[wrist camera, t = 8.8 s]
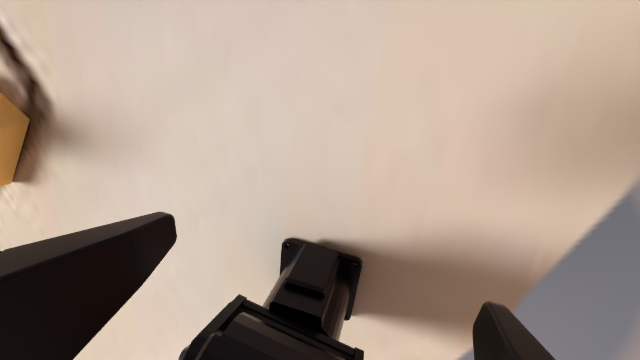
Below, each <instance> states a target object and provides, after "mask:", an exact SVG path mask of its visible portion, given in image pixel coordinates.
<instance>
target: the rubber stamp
mask: <svg viewBox="0 0 640 360" xmlns="http://www.w3.org/2000/svg"><path fill="white" fill-rule="evenodd" d="M29 121H30V120H29V118H28V117H27V116H26V115H24V114H23V113H22V112H21V111H20V110H19V109H18V108H17V107H16V106H15V105H14V104H13V103H11V102H10V101H9V100H8V99H7V98H6V97H5V96H4V95H3V94H2V93H1V92H0V186H3V185H6V184H9V183H11V182H12V180H13V176H14V173H15V169H16V166H17V162H18V159H19V155H20V152H21V148H22V145H23V142H24V138H25V135H26V131H27V128H28V124H29Z"/></svg>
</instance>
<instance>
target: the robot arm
mask: <svg viewBox="0 0 640 360" xmlns="http://www.w3.org/2000/svg"><path fill="white" fill-rule="evenodd" d="M176 238H177V234H176V226H175V219H174V217H173V215H171V214H168V213H164V212H156V213H152V214H148V215H144V216H140V217H136V218H132V219H127V220H123V221H119V222H115V223H111V224H107V225H103V226H99V227H95V228H91V229H87V230H83V231H79V232H75V233H71V234H67V235H62V236H58V237H54V238H50V239H46V240H42V241H38V242H34V243H30V244H26V245H22V246H18V247H14V248H10V249H6V250H4V251H0V360H73V359H74V358H75V357H76V356H77V355H78V354H79V352H80V351H81V350H82V349H83V348H84V347H85V346H86V345H87V344H88V343H89V342H90V341H91V340H92V338H93V337H94V336H95V335H96V334H97V333H98V332H99V331H100V330H101V329H102V328H103V327H104V326H105V325H106V323H107V322H108V321H109V320H110V319H111V318H112V317H113V316H114V315H115V314H116V313H117V312H118V311H119V310H120V308H121V307H122V306H123V305H124V304H125V303H126V302H127V301H128V300H129V299H130V298H131V297H132V296H133V294H134V293H135V292H136V291H137V290H138V289H139V288H140V287H141V286H142V285H143V283H144V282H145V281H146V280H147V278H148V277H149V276H150V275H151V273H152V272H153V271H154V269H155V268H156V267H157V266H158V264H159V263H160V262H161V260H162V259H163V258H164V257H165V255H166V254H167V253H168V251H169V250H170V249H171V248H172V246H173V245H174V244H175V242H176ZM287 244H289V245H290V246H288V245H287ZM353 263H357V264H358V265H355V264H353ZM361 268H362V260H361V259H360V258H358V257H354V256H351V255H347V254H343V253H340V252H336V251H333V250H329V249H325V248H322V247H318V246H314V245H311V244H307V243H303V242H300V241H296V240H293V239H285V240H284V242H283V243H282V250H281V265H280V277H279V279H278V281H277V282H276V284H275V286H274V287H273V289H272V291H271V293H270V294H269V296H268V298H267V299H266V301H265V303H264V304H263V306H260V305H258V304H256V303H254V302H251V301H249V300H247V298H246V297H244V296H242V295H240V294H239V295H238V296H237V297H236V298H235V299H234V300H233V301H232V302H230V303H229V304H228V305H227V306H226V307H225V308H224V309H223V310H222V311H221V312H220V313H219V314H218V315H217V316H216V317H215V318H214V319H213V320H212V321H211V322H210V323H209V324H208V325H207V326H206V327H205V328H204V329H203V330H202V331H201V332H200V333H199V334H198V335H197V336H196V337H195V338H194V340H193V341H192V342H191V344H190V345H189V346H187V347H186V348H185V349H184V350H183V351H182V352H181V354H180V356H179V360H363V359H364V351H363V350H360V349H358V348H356V347H355V349H354V348H352V347H350V346H348V345H346V344H343V343H341V342H339V338H340V334H341V330H342V326H343V322H344V320H349V319H350V317H351V312H352V308H353V304H354V299H355V295H356V290H357V286H358V281H359V277H360V272H361ZM473 347H474V360H555V359H554V358H553V357H552V355H551V354H550V353H549V352H548V351H547V350H546V349H545V348H544V347H543V346H542V345H541V344H540V343H539V342H538V340H537V339H536V338H535V337H534V336H533V335H532V334H531V333H530V332H529V331H528V330H527V329H526V328H525V327H524V326H523V324H521V322H520V321H519V320H518V319H517V318H516V317H515V316H514V315H513V314H512V313H511V312H510V311H509V310H508V309H507V308H506V307H505V306H503V305H501V304H497V303H493V302H490V301H487V302H485V303H484V304H483V306H482V308H481V310H480V312H479V314H478V316H477V318H476V320H475V322H474V325H473Z"/></svg>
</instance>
